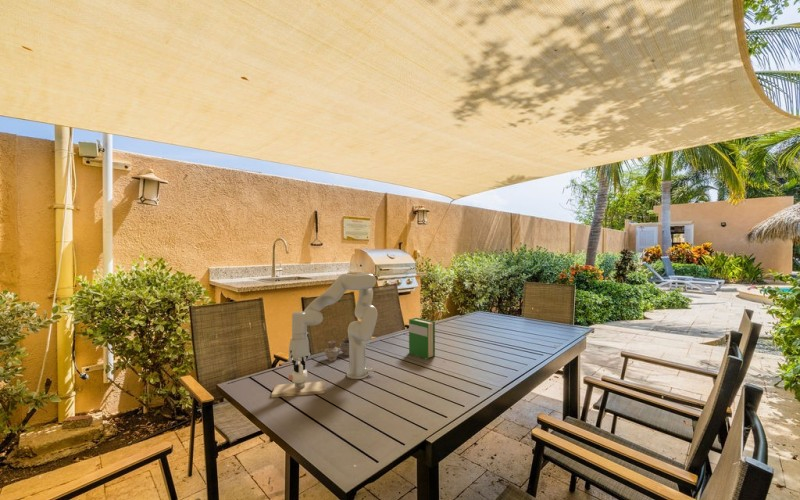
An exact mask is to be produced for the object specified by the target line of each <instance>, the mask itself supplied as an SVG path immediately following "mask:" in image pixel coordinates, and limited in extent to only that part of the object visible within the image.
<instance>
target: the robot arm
mask: <svg viewBox="0 0 800 500" xmlns="http://www.w3.org/2000/svg"><path fill="white" fill-rule="evenodd" d="M376 284H377V277H376V276H375V275H374V274H372V273H367V272H356V273H355V274H349V273H348V274H347V273H343V274H340V275H339V276H338V277H337V278H336V280H334V281H333V283H332V284H331V285H330V286H329V287H328V288H327V289H326V290H325V291H324V292H323V293H321V294H320V295H319V296H317V297H316V298H315V299H313V300H312V301H310V303H309V304H308V305H307V306H306V307H305V308H304V310H303V311H301V310H300V311H294V312H293V313H292V314H291V339H290V341H289V345H288V359H287V361H288V362H290V363H292V364H293V371H295V372H299V365H298V361H299V359H301V361H300V362H301V364H302V365H303V370H305V369H306V363H307V360H308V359H309V357H310V356H312V354H311V352H310V341H309V337H308V335H309V331H308V326H317V325H320V324H321V323H322V322H323V320H324V316H323V314H322V312H320V311H322V310H324V308H325V307H327V306H331V305H334V304H336V303H337V302H338V301H340V299H341V298H342V297H343V295H344V294H346V292H347V291H358V297H357V301H356V305H355V309H354V317H356V318H357V319H359V320H361V321H359V320H354V321H351V322H350V323H349V324H348V327H347V338H349V355H348V362H349V363H348V364H349V368H348V369H349V371H347V372H346V377H347V378H348V379H351V380H362V379H365V378H368V375H369V373H374V368H372V367H367V366H366V364H367V363H366V362H367V361H366V359H367V356H366V347H367V346H366V342H368V341H369V340H371V339H372V337H373V335H374V332H375V329H376V328H375V327H376V324H377V320H378V310H377V308H376V306H374V305H373V304H372V303H373V299H374V290H373V288H374V286H376Z"/></svg>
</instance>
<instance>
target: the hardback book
mask: <svg viewBox="0 0 800 500" xmlns="http://www.w3.org/2000/svg"><path fill="white" fill-rule="evenodd" d="M408 353H409V354H411V355H414V356H417V357H419V356H420V357H419V358H422V357H423V359H425V358H426V359H425V360H429V358H435V357H436V321H434V320H433V321H432V320H429V319H424V318H419V317H413V318H409V319H408Z"/></svg>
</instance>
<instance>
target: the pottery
mask: <svg viewBox="0 0 800 500" xmlns="http://www.w3.org/2000/svg"><path fill="white" fill-rule="evenodd" d="M342 341H343V342H341V343H340V344H339V348H338V347H337V346H336V344H337V342H336V340H330V341H328V342H327V344H328V347H327V348H325V349H324V354H325V356H326V357H327V361H330V362H333V361H337V358H338V356H339V354H340V351H341V352H342V354H343V355H344V356H349V337H344V338H343V339H342Z"/></svg>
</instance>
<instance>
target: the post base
mask: <svg viewBox="0 0 800 500" xmlns="http://www.w3.org/2000/svg"><path fill="white" fill-rule="evenodd" d="M325 393H326V381H325V380H322V381H308V382H307V381H305V382H303V383H293V382H292V383H283V384H282V383H281V384H275V386H274V387H273V390H272V392H271V395H270V396H271V398H279V397H280V398H281V397H293V396H294V397H295V396H307V395H319V394H322V395H323V394H325Z"/></svg>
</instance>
